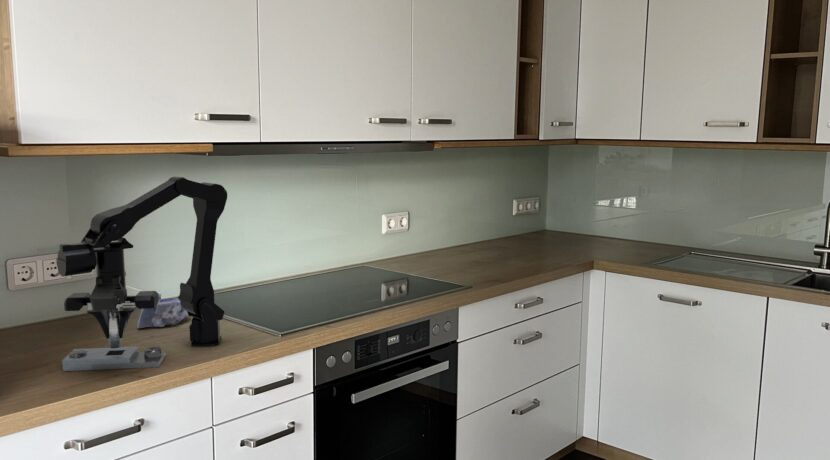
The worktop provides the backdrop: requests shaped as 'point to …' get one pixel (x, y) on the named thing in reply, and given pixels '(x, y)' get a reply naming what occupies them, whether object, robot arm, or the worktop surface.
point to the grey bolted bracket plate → (112, 358)
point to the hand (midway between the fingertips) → (114, 337)
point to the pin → (114, 328)
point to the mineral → (162, 314)
